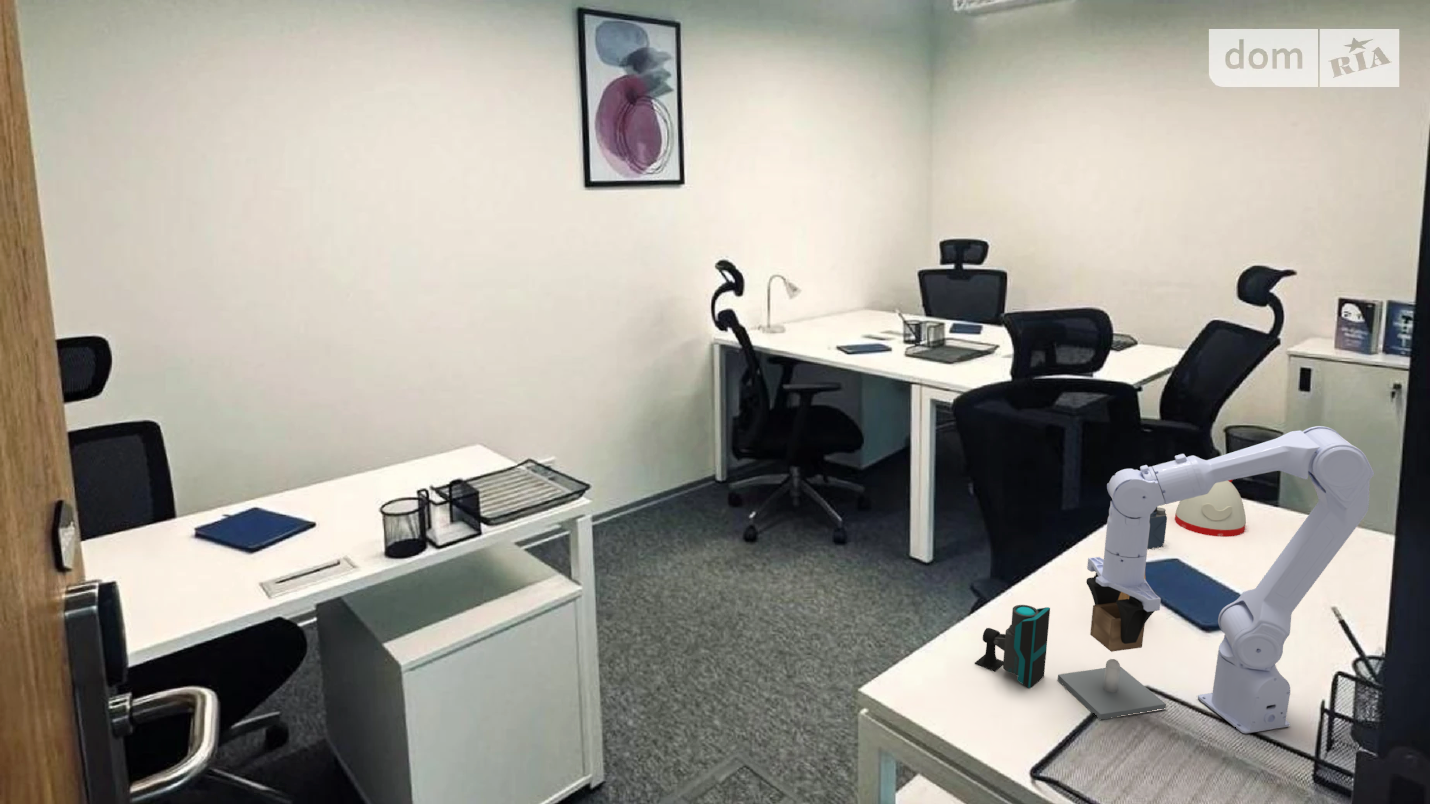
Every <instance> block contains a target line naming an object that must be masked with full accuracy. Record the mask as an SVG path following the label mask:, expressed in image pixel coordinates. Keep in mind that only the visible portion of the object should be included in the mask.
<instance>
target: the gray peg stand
mask: <svg viewBox="0 0 1430 804" xmlns="http://www.w3.org/2000/svg"><path fill="white" fill-rule="evenodd" d="M1057 681H1058V683H1059V684H1061V685H1062V686H1063V687H1064V688H1066V690H1067V691H1068V692H1069V693H1071V695H1073V696H1074V697H1075V698H1076V699H1077V700H1078V701H1079V702H1080V703H1081V704H1083V706H1084V707H1085V708H1087V710H1089V711H1090V712H1091V713H1092V714H1093V713H1095V715H1097V717H1098V718H1099V719H1105V720H1109V719H1108V718H1111V717H1117V716H1121V715H1128V714H1133V713H1140V712H1147V711H1152V710H1157V709H1164V708H1166V707H1167V703H1166V702H1165V701H1163V700H1162V699H1161V698H1159V696H1158V695H1156V694H1155V693H1153V692H1152V691H1151V690H1150V689H1148V688H1147V686H1145V685H1144V684H1143V683H1141V682H1140V681H1139V680H1137V678H1135V677H1134V676H1133V675H1132V674H1131V673H1129V672H1128V671H1127V670H1125V669H1124V668H1123V667H1122V666H1121V664H1120V662H1119V661H1118V660H1117V659H1114V658H1110V659H1108V660H1107V661H1106V662H1105V667H1102V668H1096V669H1095V668H1094V669H1089V670H1088V669H1087V670H1081V671H1074V672H1068V673H1067V672H1066V673H1061V674H1057ZM1095 715H1094V716H1095ZM1097 717H1096V718H1097ZM1098 718H1097V719H1098ZM1117 718H1118V717H1117ZM1099 719H1098V720H1099ZM1111 719H1112V718H1111Z"/></svg>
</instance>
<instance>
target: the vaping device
mask: <svg viewBox="0 0 1430 804" xmlns="http://www.w3.org/2000/svg"><path fill="white" fill-rule="evenodd" d="M1167 522H1168V516H1167V513H1166V509H1165V508H1164V507H1156V509H1155V510H1154V511H1153V512H1152V513H1151V514H1150V521H1149V523H1150V530H1149V539H1148V547H1147V550H1148V549H1156V548H1161V547H1163V545H1164V544H1165V541H1166V540H1165V539H1166V531H1167Z"/></svg>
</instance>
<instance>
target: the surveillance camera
mask: <svg viewBox="0 0 1430 804" xmlns="http://www.w3.org/2000/svg"><path fill="white" fill-rule="evenodd" d="M1011 611H1012V612H1011V624H1010V625H1009V627H1008V628H1006V630H1005V632H1004V633H1001V631H999V630H996V629H993V628H991V627H986V628H985V629H984V631H983V633H982V641H983V642H984V643H986V648H985V654H983V656H981V657H980V658H978V659H977V660H976V661H975V662H974V665H976V666H979V667H981V668H984V669H986V670H989V671H991V672H993V673H994V672H997V670H999V669H1000V668H1001V667H1002V668H1003V671H1005V672H1007V673H1010V674H1012V675H1015V676H1016V677H1017V682H1018V683H1020V684H1021V685H1023V686H1024V687H1025V688H1028V689H1031V688H1033V687H1034V686H1036V684H1039V683H1038V682H1040V681H1041V680H1042V679H1043V678H1044V677H1045V669H1046V658H1047V650H1048V649H1047V648H1048V646H1047V645H1048V639H1049V638H1048V634H1049V623H1050V616H1051V615H1050V614H1051V607H1047V606H1046V607H1041V608H1035V607H1034V606H1033V605H1027V604H1017V605H1015V606H1013V607H1012V610H1011ZM996 647H998V648H999V649H1001V650H1002V651H1003V660H1001V659H999V658H997V656H996V655H997V654H996Z"/></svg>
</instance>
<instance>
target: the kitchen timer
mask: <svg viewBox="0 0 1430 804" xmlns="http://www.w3.org/2000/svg"><path fill="white" fill-rule="evenodd" d="M1232 482H1233V480H1228V481H1223V482H1218V483H1215V484H1214V485H1213V487H1212V488H1211V490H1210V491H1209V492H1208V494H1205V495H1201V496H1197V497H1193V498H1189V499H1185V500H1181V501H1178V502H1179V503H1178V505H1177V506H1176V511H1175V517H1174V521H1175V523H1176V524H1177V525H1178V526H1179V527H1180V528H1183V529H1184V530H1187V531H1190V532H1192V533H1196V534H1201V535H1205V536H1212V537H1223V538H1224V537H1225V538H1226V537H1236V536H1240V535H1243V534H1244V533H1245V530H1246V523H1247V520H1246V511H1245V508H1244V507H1245V506H1244V502H1243V500H1242V497H1241V494H1240V493H1239V491H1238V489H1237V488H1236V486H1235V485H1234V484H1233V483H1232Z"/></svg>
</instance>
